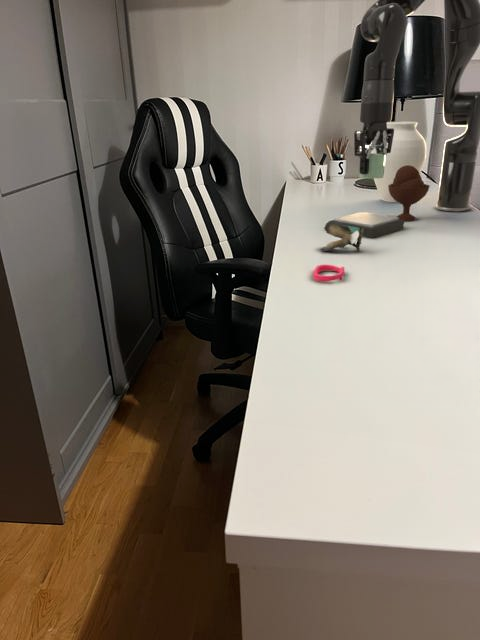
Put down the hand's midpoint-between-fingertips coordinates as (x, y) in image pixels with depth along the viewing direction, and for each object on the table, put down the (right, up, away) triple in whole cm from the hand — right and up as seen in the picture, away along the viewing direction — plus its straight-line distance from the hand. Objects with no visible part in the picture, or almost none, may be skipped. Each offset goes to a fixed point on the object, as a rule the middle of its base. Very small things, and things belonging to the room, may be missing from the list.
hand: (371, 172), depth 128 cm
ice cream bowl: (+14, -9, +16) cm, 23 cm away
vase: (+19, +3, +44) cm, 48 cm away
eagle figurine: (-10, -22, -12) cm, 27 cm away
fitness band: (-16, -29, -29) cm, 44 cm away
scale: (0, -13, +6) cm, 15 cm away
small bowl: (0, -1, 0) cm, 1 cm away
